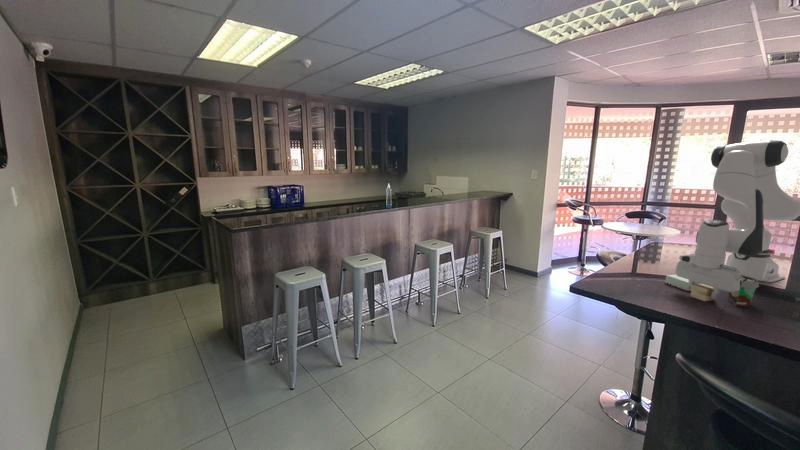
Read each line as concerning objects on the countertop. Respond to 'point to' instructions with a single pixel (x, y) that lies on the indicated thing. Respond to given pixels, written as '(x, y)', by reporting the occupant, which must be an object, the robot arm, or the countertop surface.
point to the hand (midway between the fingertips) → (702, 294)
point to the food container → (744, 291)
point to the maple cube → (702, 292)
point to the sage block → (679, 282)
